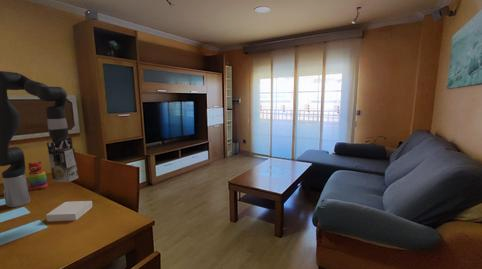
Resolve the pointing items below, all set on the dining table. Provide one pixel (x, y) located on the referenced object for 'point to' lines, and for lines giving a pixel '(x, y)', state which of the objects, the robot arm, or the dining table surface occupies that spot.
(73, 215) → the plinth
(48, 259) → the dining table surface
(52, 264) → the dining table surface
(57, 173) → the coffee box
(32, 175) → the stacking bear
